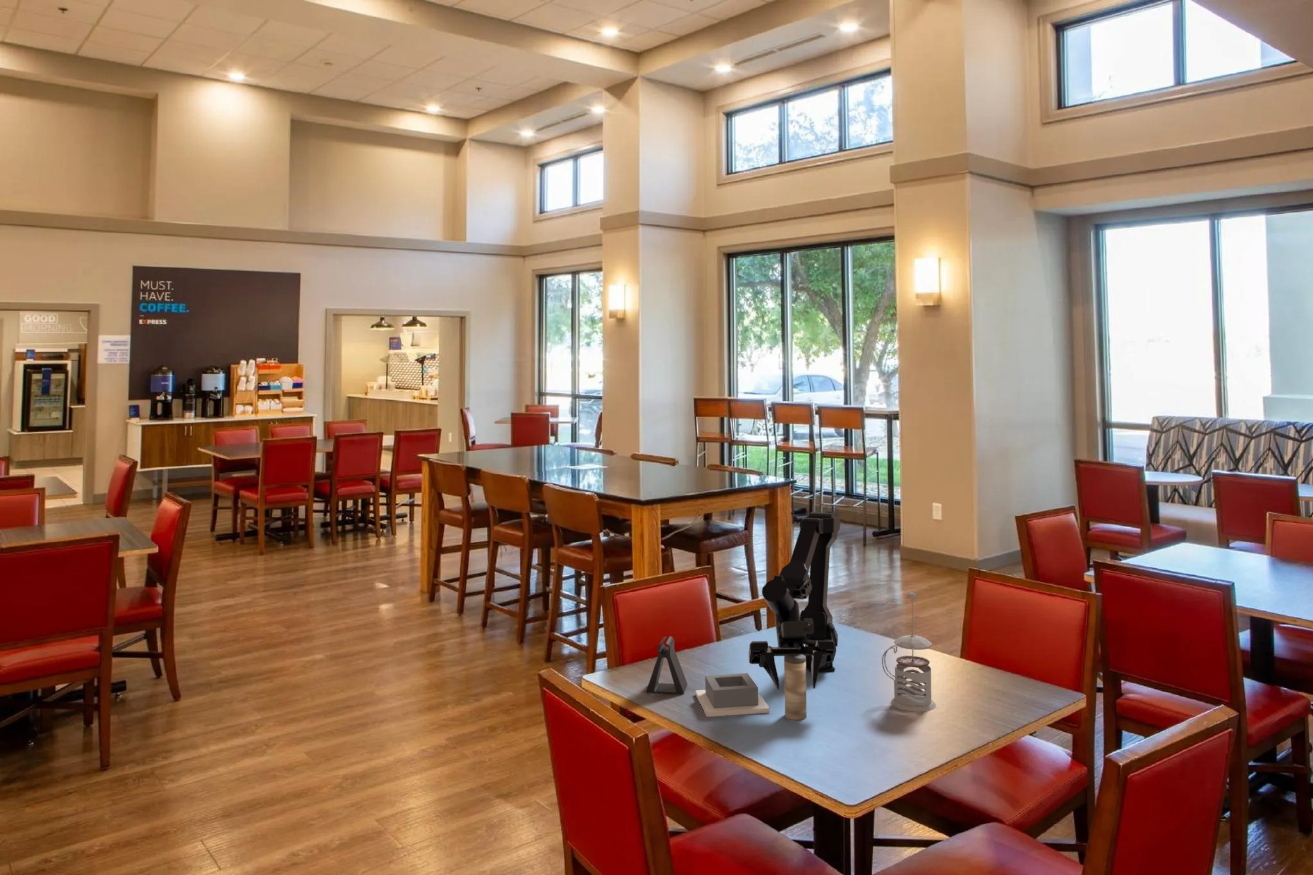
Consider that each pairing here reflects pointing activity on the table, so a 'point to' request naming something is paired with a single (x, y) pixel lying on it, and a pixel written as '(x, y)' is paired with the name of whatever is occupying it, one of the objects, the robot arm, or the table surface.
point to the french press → (911, 674)
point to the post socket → (731, 696)
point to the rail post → (795, 686)
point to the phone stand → (675, 671)
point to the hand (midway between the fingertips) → (796, 688)
